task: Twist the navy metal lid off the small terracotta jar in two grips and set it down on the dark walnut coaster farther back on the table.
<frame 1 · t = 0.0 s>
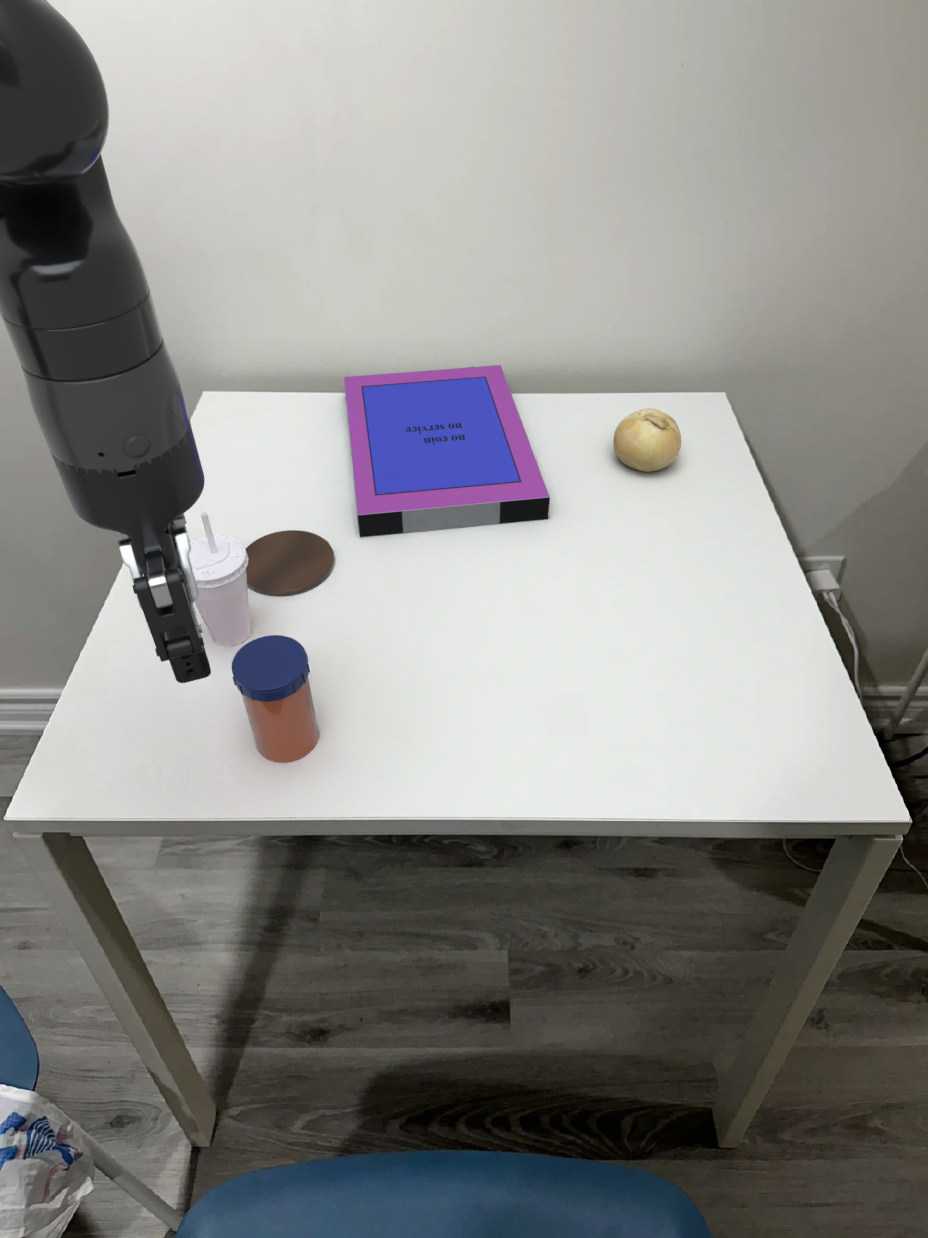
hand: (186, 632, 58), 17 cm above the table, tool pointing down, fingers open, 8 cm apart
jar lid: (270, 664, 67), point 9 cm above the table, screwed on, not yet turned
onion: (643, 462, 103), on the table
book: (437, 454, 105), on the table
coaster: (286, 564, 90), on the table
smoothie: (231, 634, 83), on the table
jar: (287, 737, 73), on the table
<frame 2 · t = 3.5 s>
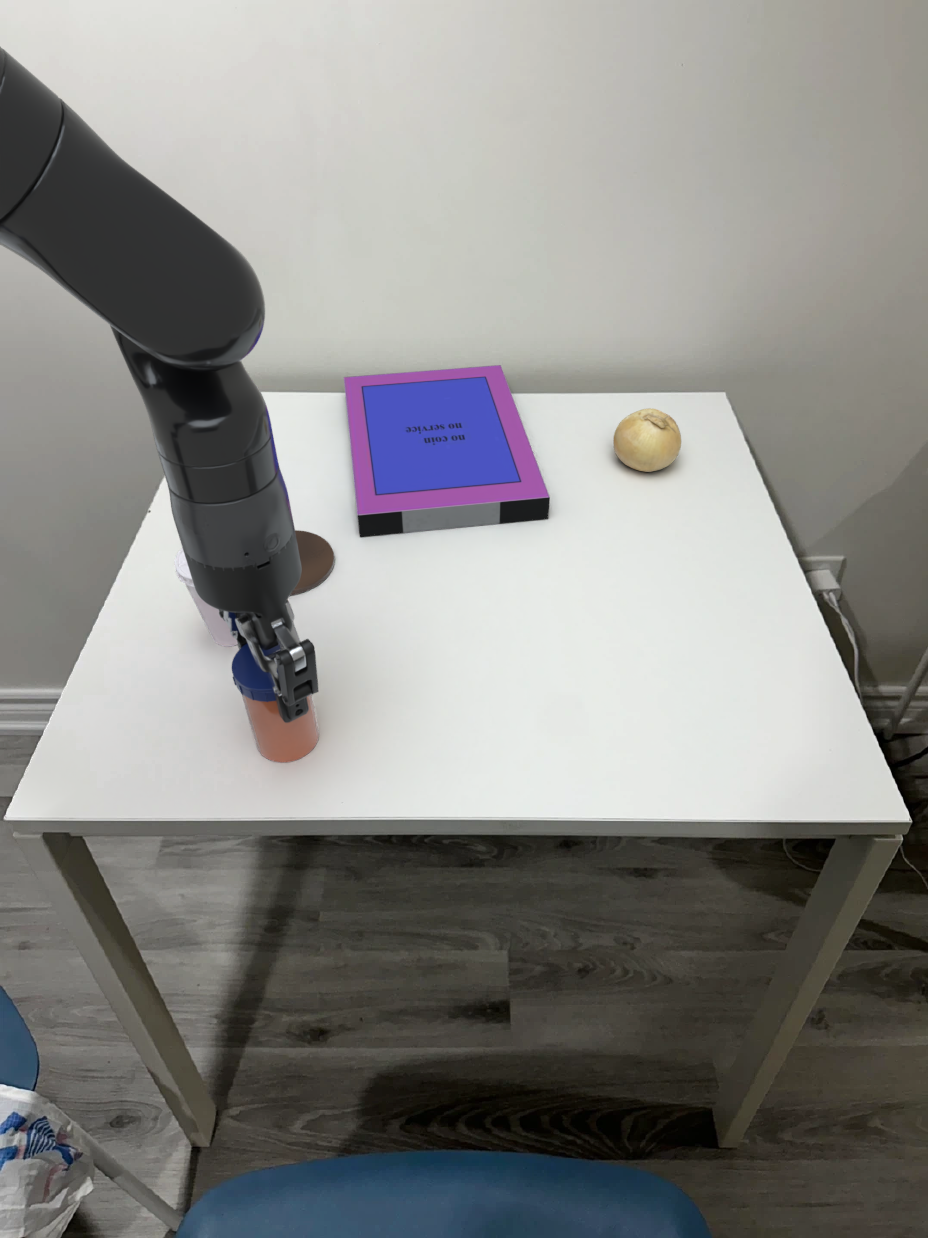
hand: (276, 690, 69), 6 cm above the table, tool pointing down, fingers closed on jar lid, 5 cm apart
jar lid: (270, 664, 67), point 9 cm above the table, screwed on, not yet turned, touching gripper
everything else where it was.
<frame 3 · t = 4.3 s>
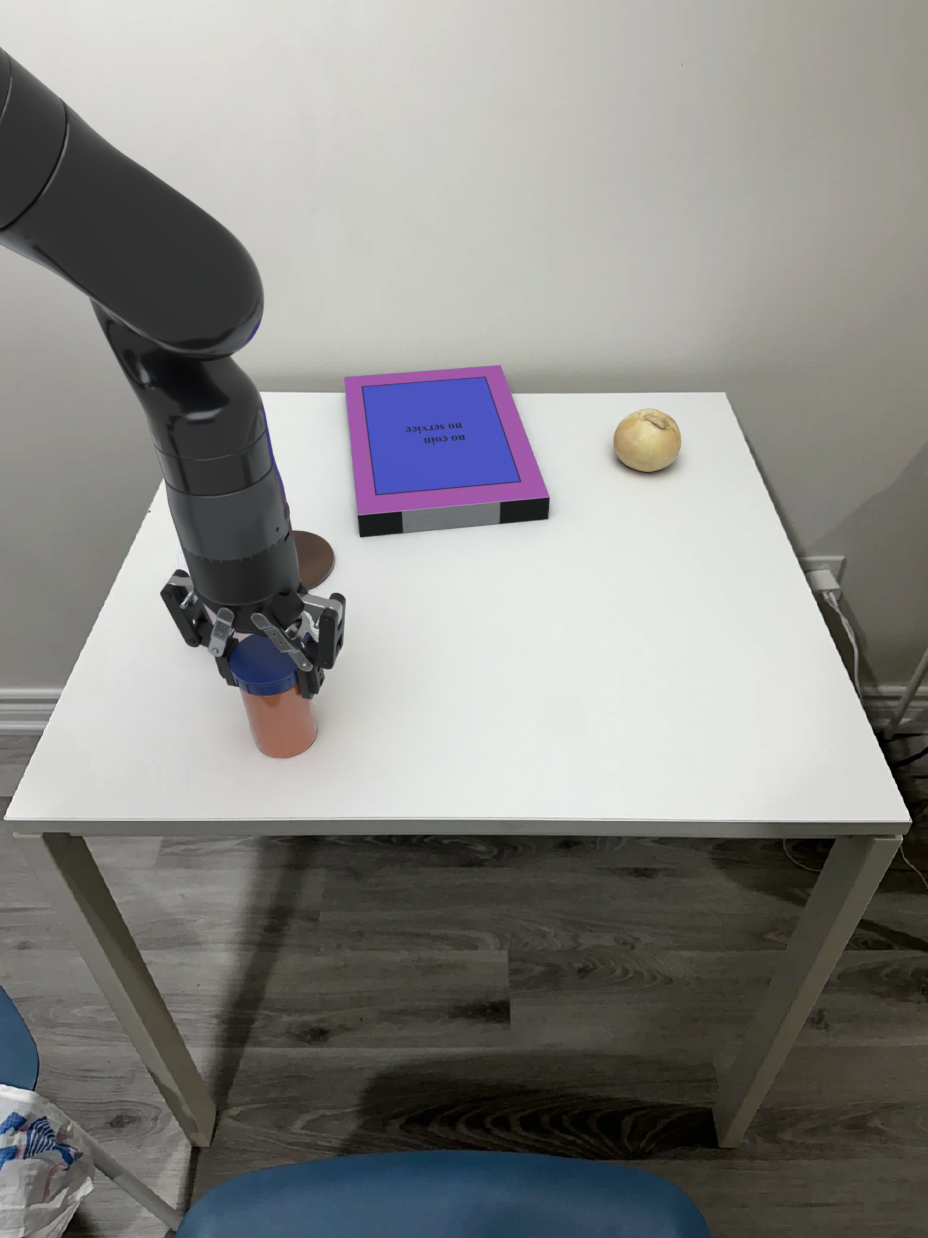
hand: (274, 684, 69), 6 cm above the table, tool pointing down, fingers closed on jar lid, 5 cm apart
jar lid: (267, 658, 67), point 9 cm above the table, turned 39° so far, risen 0.1 cm, still on its thread, touching gripper
everything else where it was.
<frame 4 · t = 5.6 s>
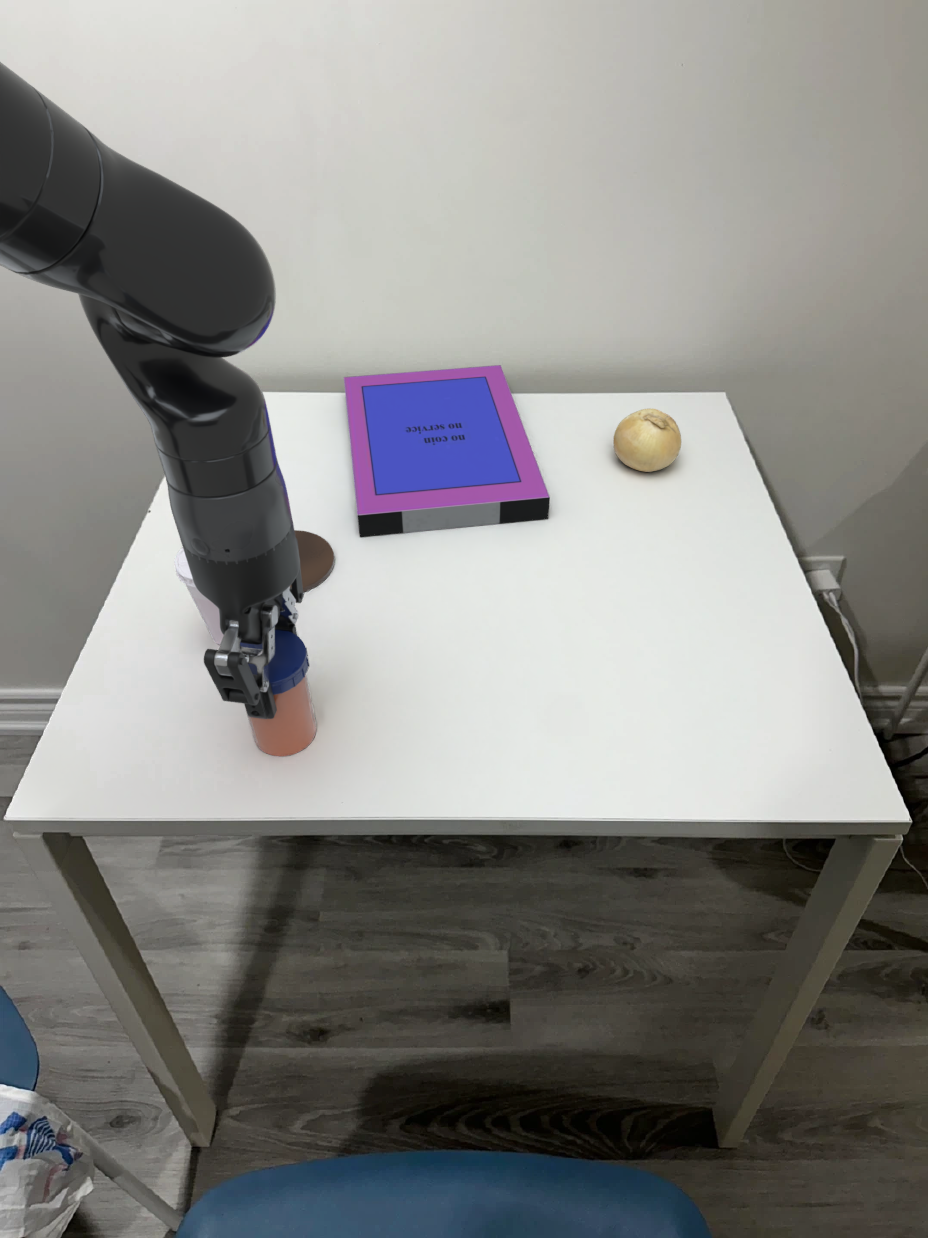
hand: (275, 683, 69), 6 cm above the table, tool pointing down, fingers closed on jar lid, 5 cm apart
jar lid: (269, 658, 67), point 10 cm above the table, off its thread, touching gripper, jar
jar: (285, 731, 74), on the table, touching gripper, jar lid
everything else where it was.
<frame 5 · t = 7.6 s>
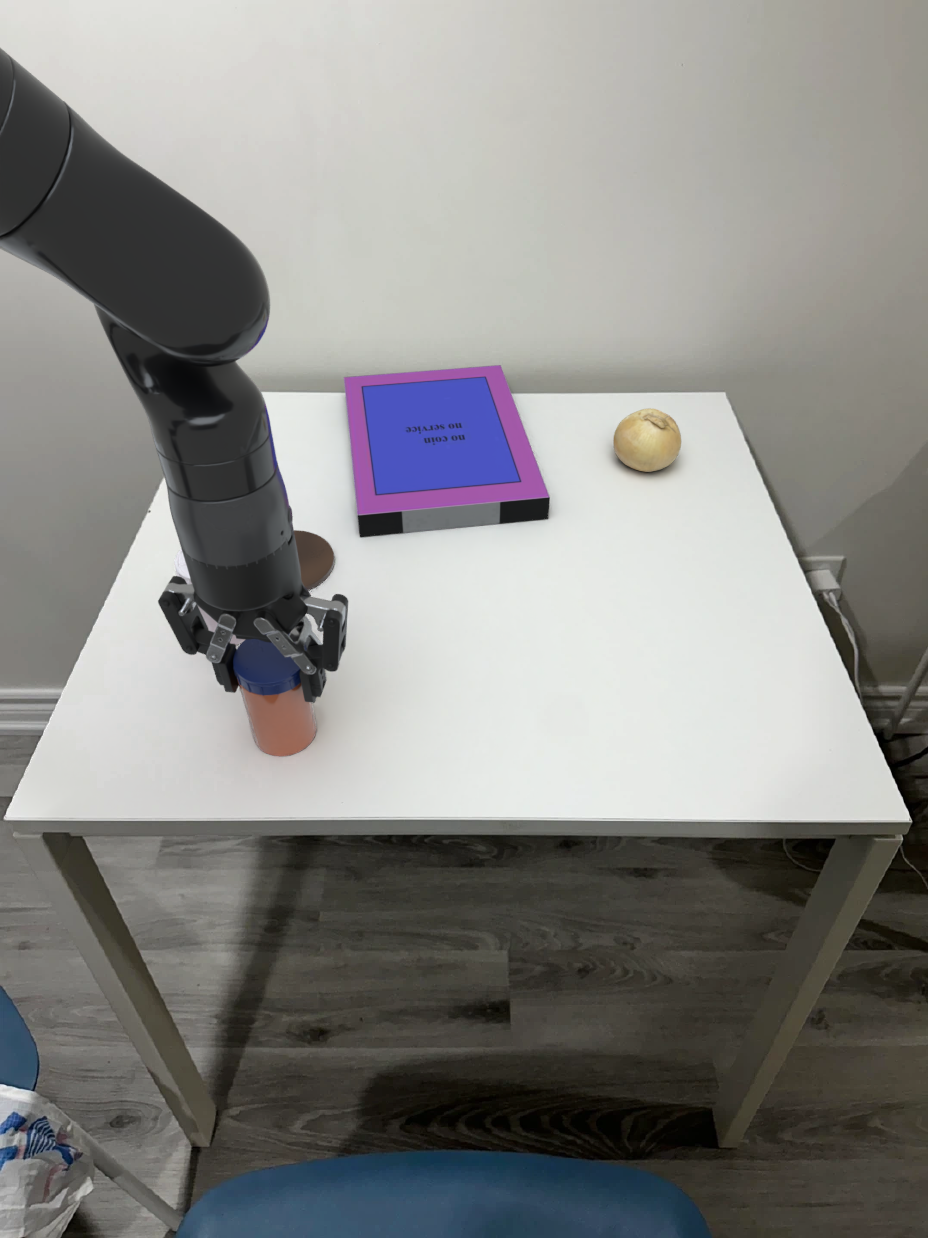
hand: (274, 689, 69), 6 cm above the table, tool pointing down, fingers closed on jar lid, 6 cm apart
jar lid: (271, 658, 67), point 9 cm above the table, off its thread, touching gripper, jar
jar: (285, 731, 74), on the table, touching jar lid
everything else where it was.
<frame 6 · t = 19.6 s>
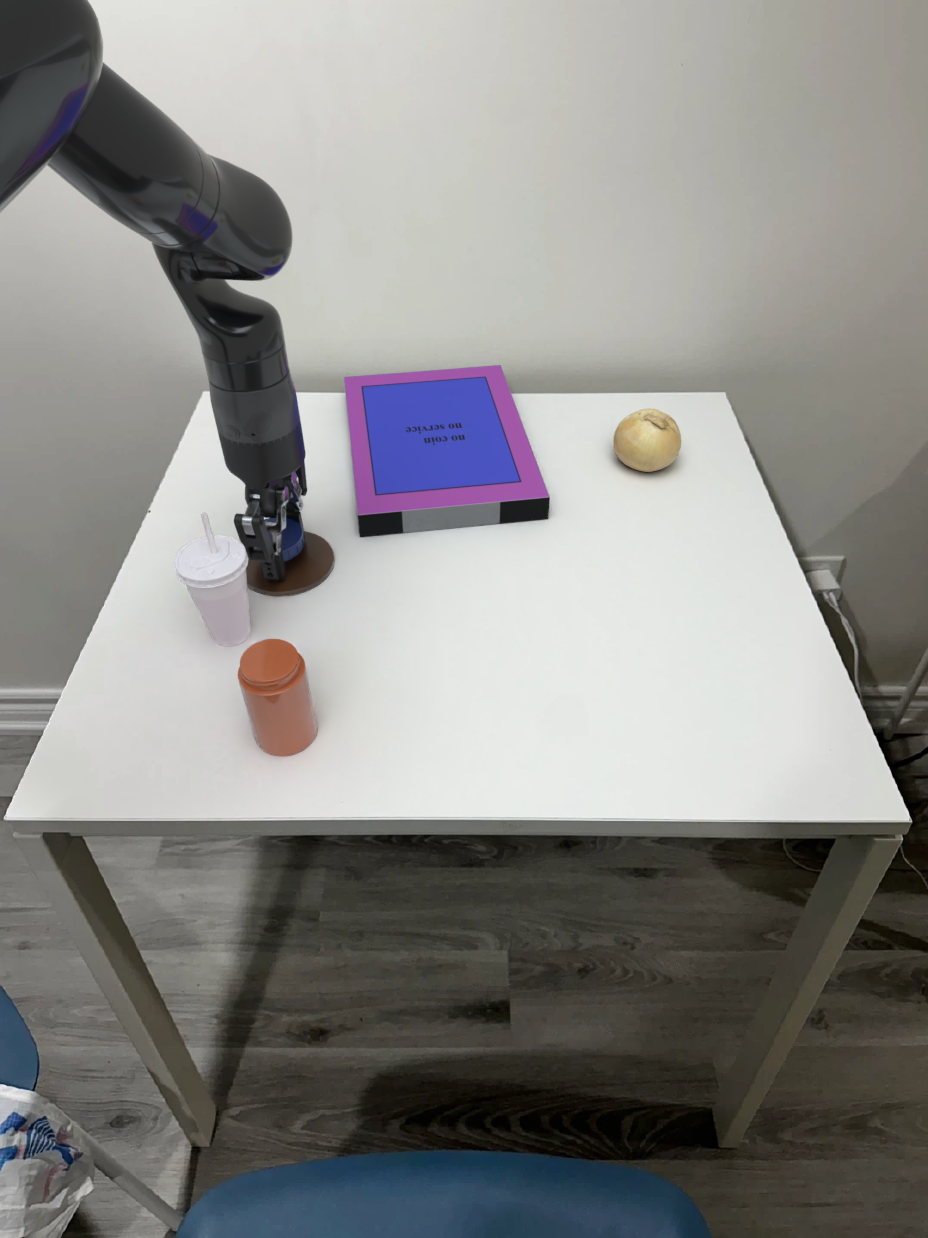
hand: (285, 558, 89), 1 cm above the table, tool pointing down, fingers closed on jar lid, 5 cm apart
jar lid: (274, 537, 87), point 4 cm above the table, off its thread, touching gripper
jar: (286, 731, 74), on the table
everything else where it was.
when the fingers open (1 cm above the table, at t = 23.9 s): jar lid drops 2 cm, resting on coaster.
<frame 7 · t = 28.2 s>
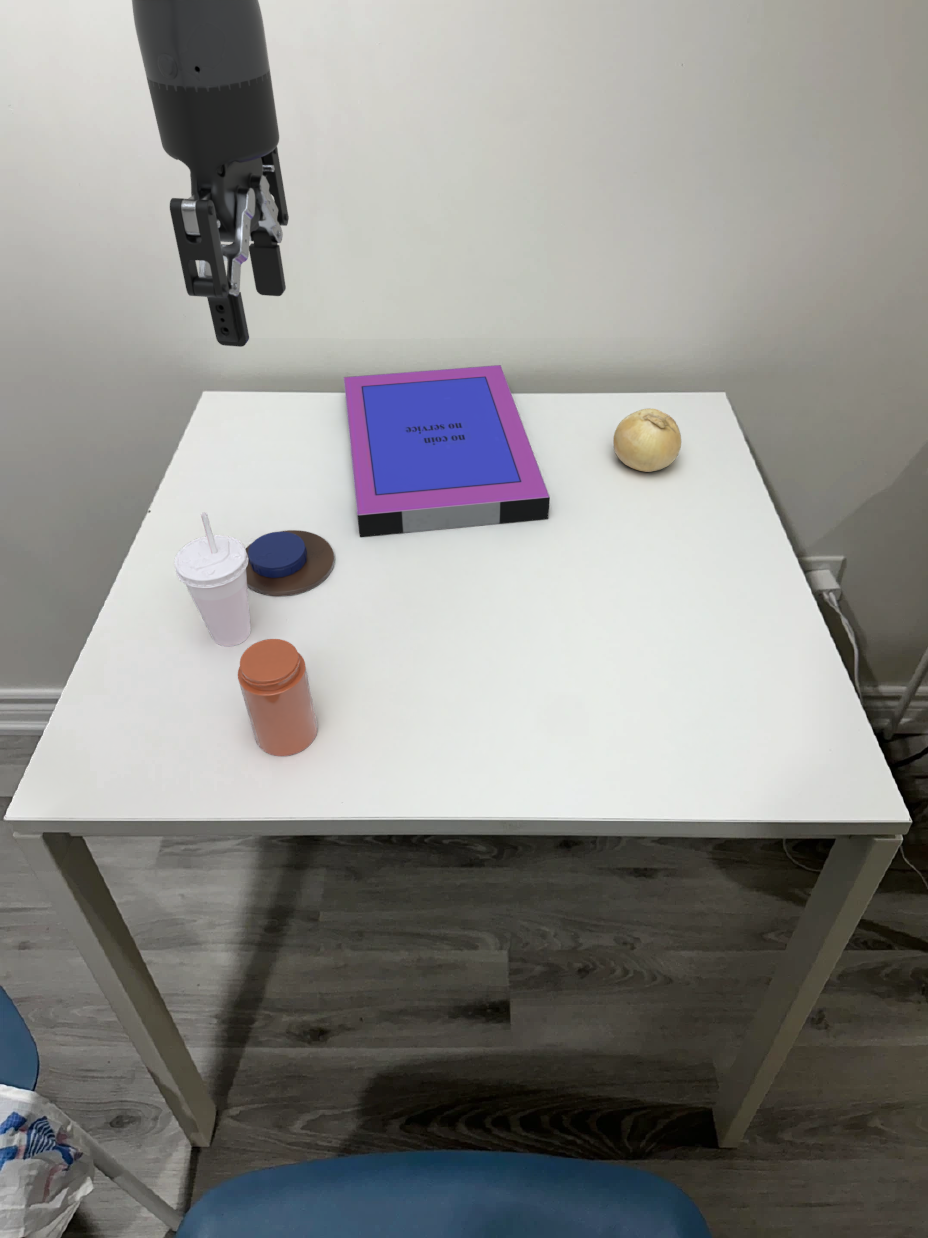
hand: (253, 317, 64), 30 cm above the table, tool pointing down, fingers open, 8 cm apart
jar lid: (277, 551, 88), point 2 cm above the table, off its thread, touching coaster
everything else where it was.
at the end: jar lid inside the target area on the coaster (0.8 cm from its centre), point 1.7 cm above the coaster's base; jar lid point 1.7 cm above the table; the gripper is holding nothing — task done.
